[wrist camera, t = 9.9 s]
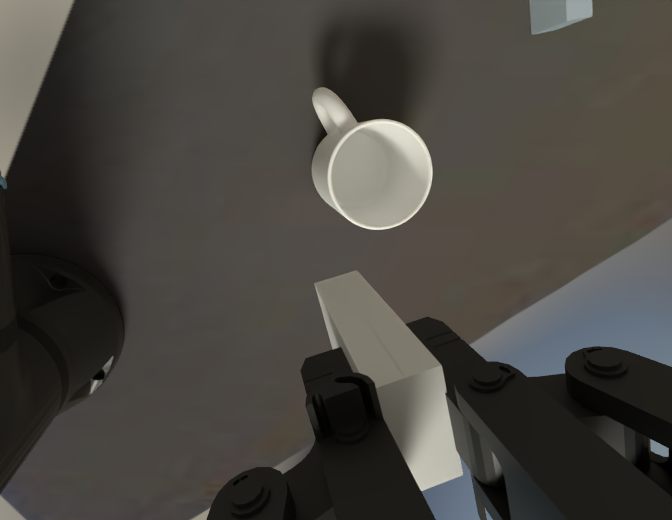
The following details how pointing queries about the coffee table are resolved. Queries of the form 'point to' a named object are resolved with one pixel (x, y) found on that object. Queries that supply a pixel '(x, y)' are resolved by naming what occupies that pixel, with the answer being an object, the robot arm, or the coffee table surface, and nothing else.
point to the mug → (369, 166)
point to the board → (557, 14)
